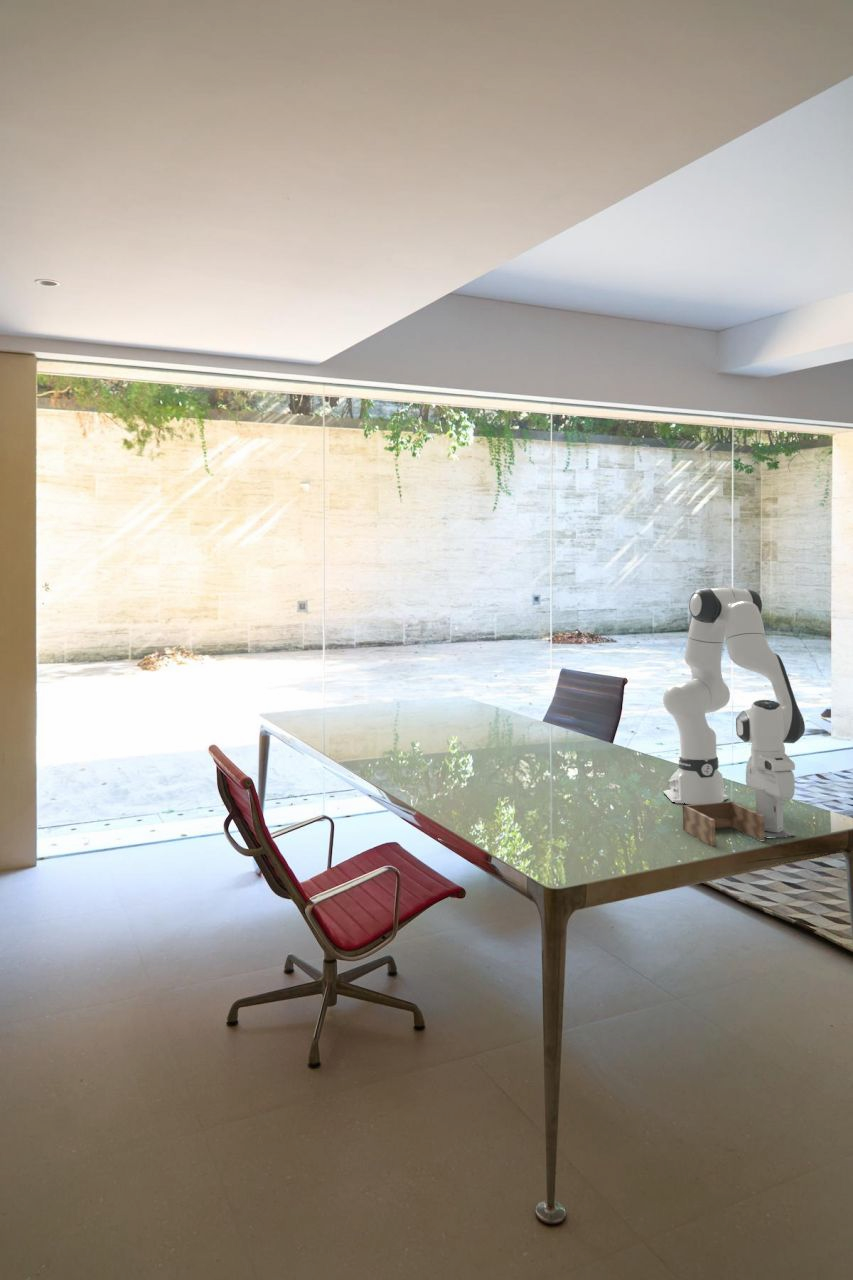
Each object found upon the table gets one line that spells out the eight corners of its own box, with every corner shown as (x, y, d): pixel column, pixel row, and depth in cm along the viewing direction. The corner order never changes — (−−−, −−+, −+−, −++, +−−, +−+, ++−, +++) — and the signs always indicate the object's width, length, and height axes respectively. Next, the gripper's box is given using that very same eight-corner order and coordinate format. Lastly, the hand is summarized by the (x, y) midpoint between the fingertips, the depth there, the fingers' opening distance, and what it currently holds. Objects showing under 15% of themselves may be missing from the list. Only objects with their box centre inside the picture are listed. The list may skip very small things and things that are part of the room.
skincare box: (784, 830, 258) (783, 787, 257) (777, 833, 255) (776, 789, 254) (762, 827, 262) (761, 784, 261) (755, 830, 259) (754, 787, 258)
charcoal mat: (746, 828, 264) (746, 826, 264) (772, 826, 265) (772, 824, 265) (767, 838, 252) (767, 837, 252) (795, 836, 253) (795, 834, 253)
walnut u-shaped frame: (683, 829, 265) (682, 805, 265) (732, 825, 267) (732, 801, 267) (712, 846, 247) (711, 820, 247) (764, 841, 249) (763, 815, 249)
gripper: (739, 754, 267) (740, 801, 268) (776, 766, 247) (777, 818, 248) (759, 752, 268) (761, 800, 269) (798, 765, 248) (799, 816, 248)
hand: (769, 808), depth 258 cm, fingers open, 8 cm apart
